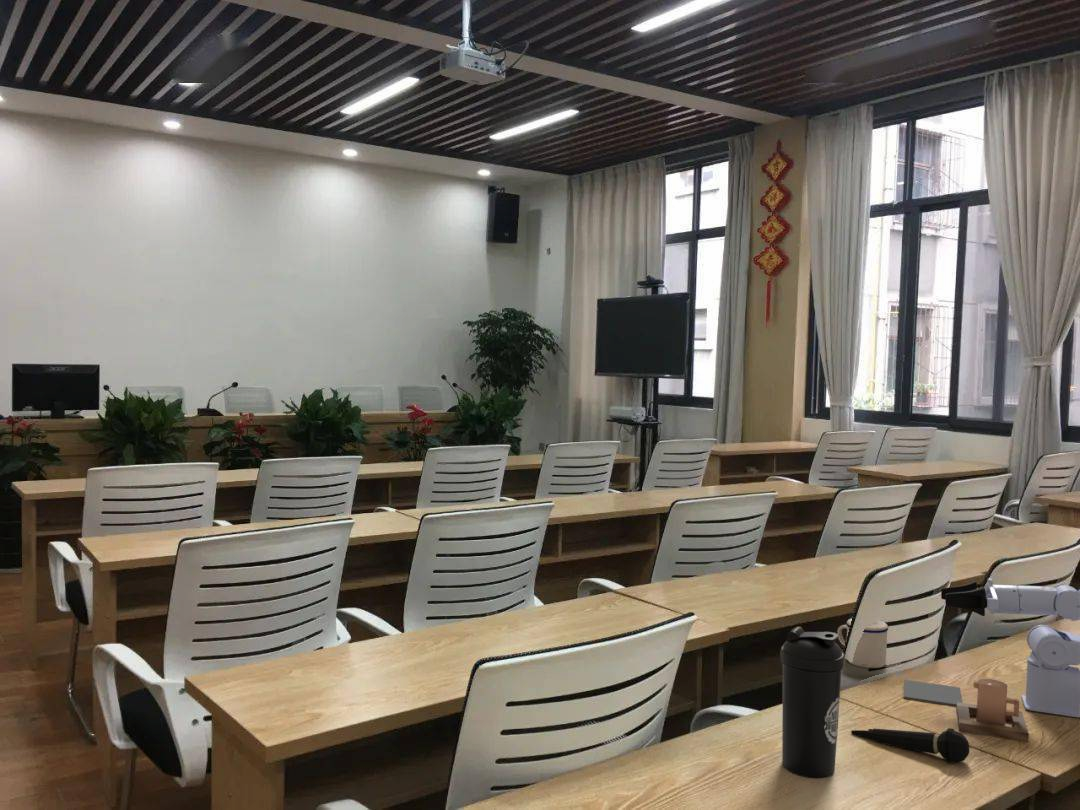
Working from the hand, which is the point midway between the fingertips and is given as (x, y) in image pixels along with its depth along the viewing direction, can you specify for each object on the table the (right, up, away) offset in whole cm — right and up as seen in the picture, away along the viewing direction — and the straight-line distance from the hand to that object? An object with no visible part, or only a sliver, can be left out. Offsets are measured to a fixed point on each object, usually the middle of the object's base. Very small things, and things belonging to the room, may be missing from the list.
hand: (943, 596), depth 186 cm
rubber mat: (-2, -20, +1) cm, 21 cm away
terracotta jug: (+2, -21, -15) cm, 26 cm away
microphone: (-18, -22, -26) cm, 38 cm away
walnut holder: (+2, -21, -15) cm, 26 cm away
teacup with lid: (-10, -20, +22) cm, 31 cm away
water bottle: (-38, -21, -35) cm, 56 cm away
